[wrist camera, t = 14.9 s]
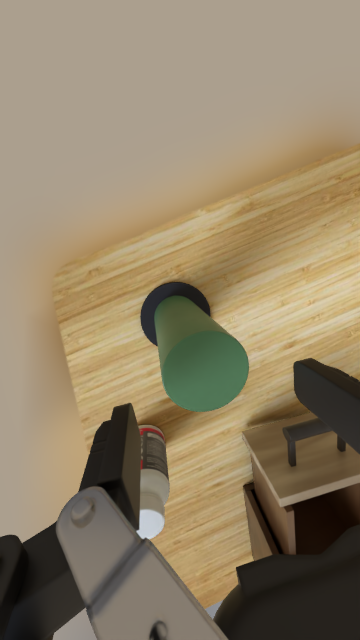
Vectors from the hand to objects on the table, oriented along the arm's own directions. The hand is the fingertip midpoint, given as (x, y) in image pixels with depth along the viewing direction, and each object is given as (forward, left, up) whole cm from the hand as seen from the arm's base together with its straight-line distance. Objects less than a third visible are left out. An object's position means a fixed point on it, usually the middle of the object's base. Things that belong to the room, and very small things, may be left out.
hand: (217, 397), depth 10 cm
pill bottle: (-7, -15, -16) cm, 23 cm away
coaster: (0, 0, -15) cm, 15 cm away
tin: (0, 0, -15) cm, 15 cm away
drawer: (+12, -23, -14) cm, 29 cm away
